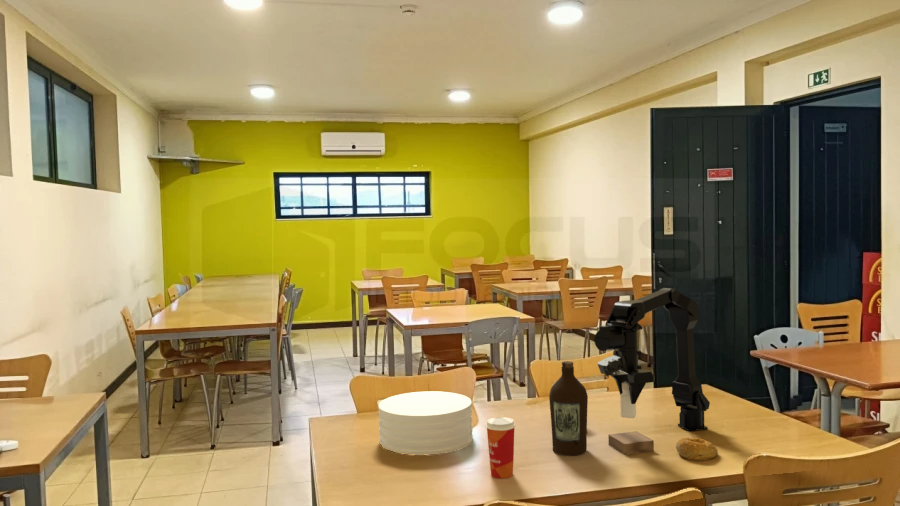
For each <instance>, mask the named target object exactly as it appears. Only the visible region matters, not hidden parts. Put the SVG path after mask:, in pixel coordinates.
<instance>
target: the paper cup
mask: <svg viewBox="0 0 900 506" xmlns="http://www.w3.org/2000/svg"><path fill="white" fill-rule="evenodd" d="M485 428H486V431H487V432H486V433H487V444H488V447H487V448H488V455H489V456H488V458H489V469H490V476H491V477H492V478H495V479H498V480H500V479H501V480H502V479H503V480H504V479H510V478H511V477H513V475H514V474H513V473H514V455H515V454H514V452H515V428H516V424H515V420H514V419H512V418H510V417H506V416H505V417H504V416H502V417H491V418H489V419H488V420H487V421H486V424H485Z"/></svg>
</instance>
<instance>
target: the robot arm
mask: <svg viewBox="0 0 900 506" xmlns="http://www.w3.org/2000/svg"><path fill="white" fill-rule="evenodd" d="M661 307H663V308H664V309H665V310H666V311H667V312H668V315H669V320H670V322H671V323H672V325H673V327H674V328H675V333H676V334H675V337H676V357H677V374H678V375H677V377H676V378H675V380H674V381H672V382H671V388H672V389H671V395H672V398H673V399H674V403H675V406H676V407H680V409H679V411H680V412H679V415H678V416H679V418H678V419H679V423H677V427H680V428H682V429H684V430H686V431H688V432H694V431H703V430H708V429H709V428H708V426H706V425H705V412H706V411H708V410H709V409H710V405H711V402H710V400H709V399H708V398H707V397H706V395H705V394H704V391H703V387H702V382H700V380H699V378H698V377H697V375H696V361H695V360H696V358H695V357H696V356H695V336H694V335H695V333H694V328H695V327H696V324H697V323H698V321H699V316H700V315H699V313H700V308H699V304H698V303H697V302H696V301H695V300H692V298H690V297H688V296H686V295H684V294H682V293H681V292H680V291H679V290H678V289H676V288H671V287H670V288H669V287H662V288H660V289H659V290H658V291H654V292H652V293H650V294H647V295H645V296H642V297H639V298H637V299H633V300H632V299H631V300H629V299H628V300H621V301H617V302H615V303H614V305H613V307H612V310H611V312H610V314H609V315H608V318H607V320H606V321H605V325H599V330H598V331H597V332H596V333H595V335H594V337H593V339H594V345H595V347H596V348H597V350H599V351H601V352H606V351H607V352H608V351H612V350H613V351H612V352H613V353H612V354H613V355H611V356H608V357H606V358H604V359H601V360H600V361H597V366H598V369H599V372H600V374H601V375H602V374H603V375H604V376H607V377H609V376H610V377H611V378H612V379H613V380H614V381H615V383H616V386H617V389H618V392H619V395H620V396H621V394H622V383H623V382H626V383H627V384H628V386H629V392H630V399H631V404H635V403H636V404H637V401H638V400H639V398H640V395H641V393H642V391H643V389H644V388H645V386H646V383H647V384H648V383H655V374H654V372H652V371H651V370H648V369H642V365H641V364H639V355H640V356H641V355H642V351H641V350H640V349H639V344H638V342H639V340H638V339H639V337H638V336H639V335H638V331H640V330H643V329H644V328H643V326H642V325H641V324H640V323H639V322H640V321H642V320H643V319H644V318H645V317H646V315H647V313H650V312H652V311H654V310H657V309H659V308H661Z"/></svg>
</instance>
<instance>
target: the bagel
mask: <svg viewBox="0 0 900 506" xmlns="http://www.w3.org/2000/svg"><path fill="white" fill-rule="evenodd" d="M675 449H676V452H677V453H678V454H679V455H680V456H681V458H682V457H683V458H684V459H688V460H693V461H708V460H711V459H713V458H714V457H716V456H718V454H719V452H718V448H717V447H716V446H715V445H714V444H712V443H711V442H710V441H708V440H706V439H703V438H699V437H698V438H697V437H695V438H691V437H682V438H680V439H678V441H676V443H675Z"/></svg>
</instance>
